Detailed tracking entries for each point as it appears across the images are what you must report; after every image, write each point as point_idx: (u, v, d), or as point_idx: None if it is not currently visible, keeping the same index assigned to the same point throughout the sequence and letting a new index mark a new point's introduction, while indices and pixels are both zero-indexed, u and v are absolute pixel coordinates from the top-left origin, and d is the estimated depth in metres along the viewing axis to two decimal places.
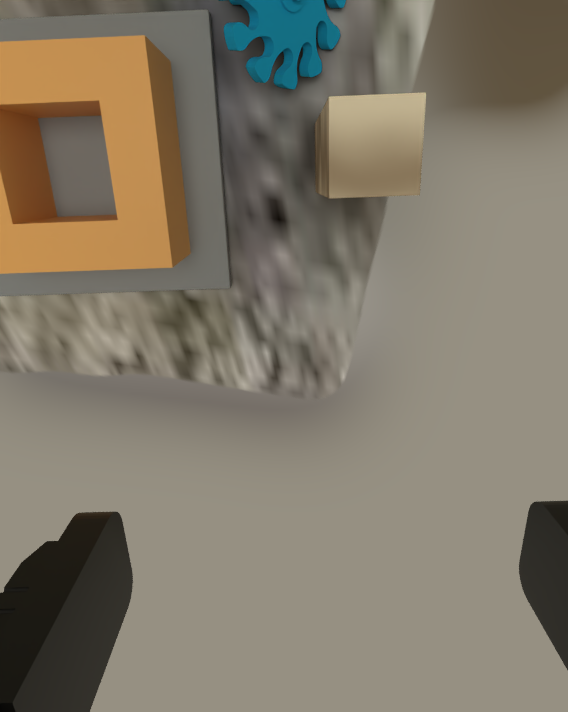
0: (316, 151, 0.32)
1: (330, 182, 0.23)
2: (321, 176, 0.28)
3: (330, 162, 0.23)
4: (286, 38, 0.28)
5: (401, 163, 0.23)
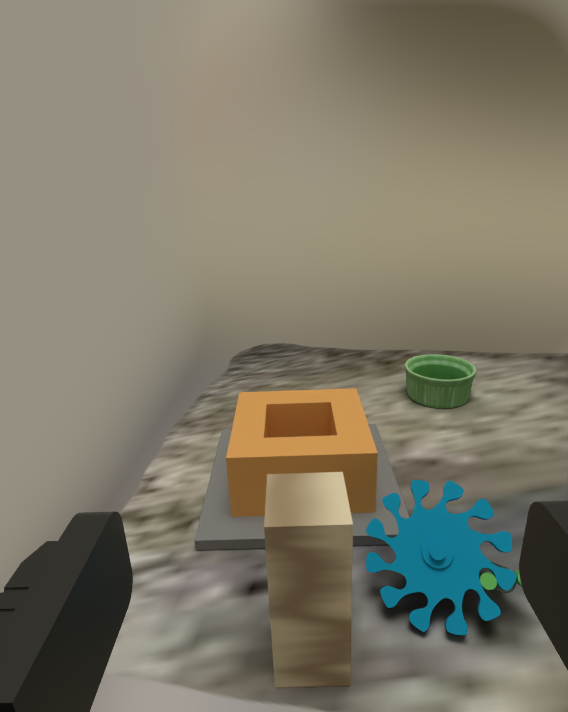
0: None
1: (279, 474, 0.28)
2: None
3: (295, 473, 0.28)
4: (402, 552, 0.33)
5: (293, 513, 0.25)
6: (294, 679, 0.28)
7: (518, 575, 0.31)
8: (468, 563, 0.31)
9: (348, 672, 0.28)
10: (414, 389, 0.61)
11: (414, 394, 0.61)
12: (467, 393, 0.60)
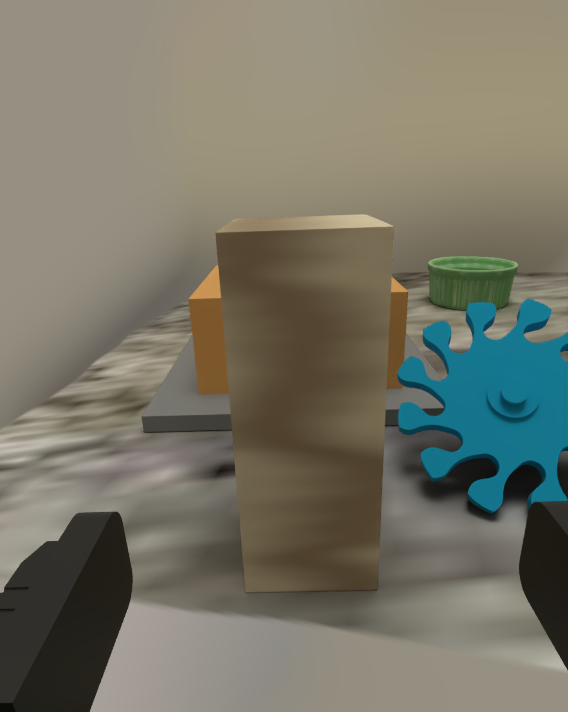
0: None
1: None
2: None
3: (282, 217, 0.16)
4: (456, 399, 0.21)
5: (275, 226, 0.13)
6: (279, 578, 0.16)
7: None
8: (564, 409, 0.20)
9: (375, 563, 0.16)
10: (440, 289, 0.49)
11: (440, 296, 0.49)
12: (507, 292, 0.48)
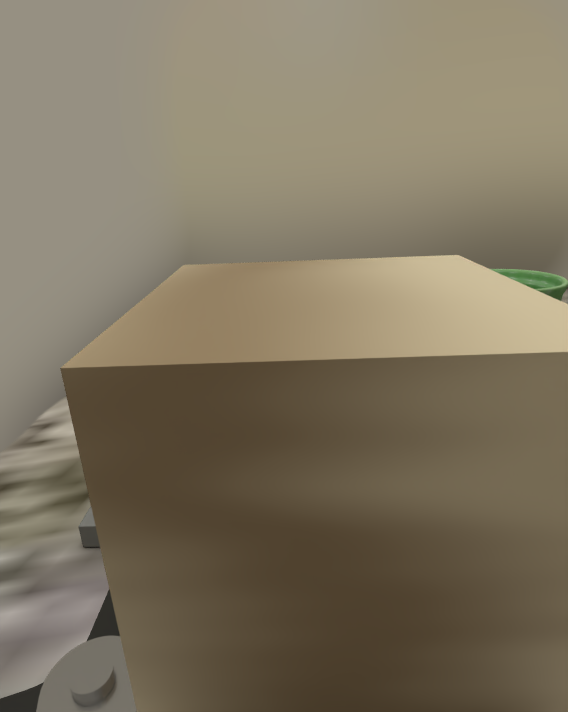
0: None
1: None
2: None
3: None
4: None
5: (263, 324, 0.04)
6: None
7: None
8: None
9: None
10: None
11: None
12: None
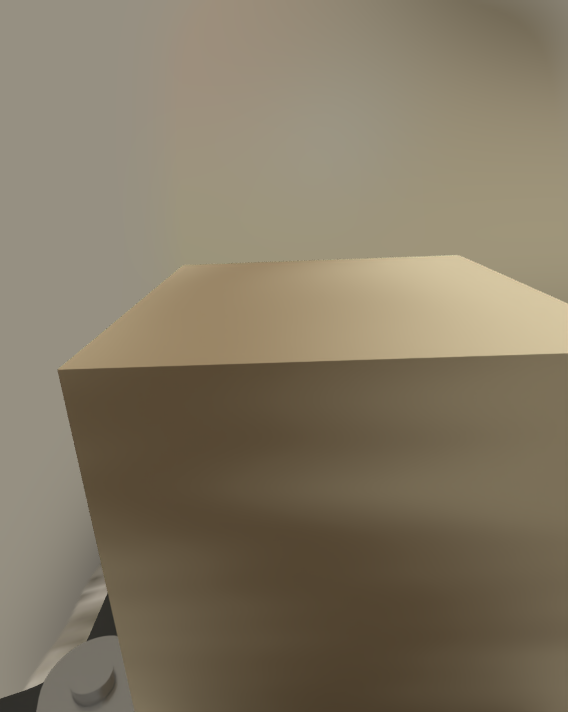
0: None
1: None
2: None
3: None
4: None
5: (263, 324, 0.04)
6: None
7: None
8: None
9: None
10: None
11: None
12: None
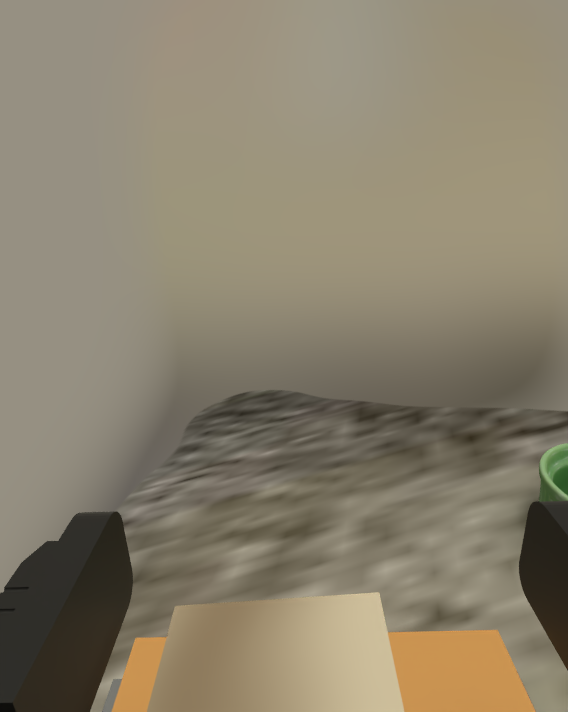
0: None
1: (207, 605, 0.10)
2: None
3: (248, 603, 0.10)
4: None
5: None
6: None
7: None
8: None
9: None
10: None
11: None
12: None
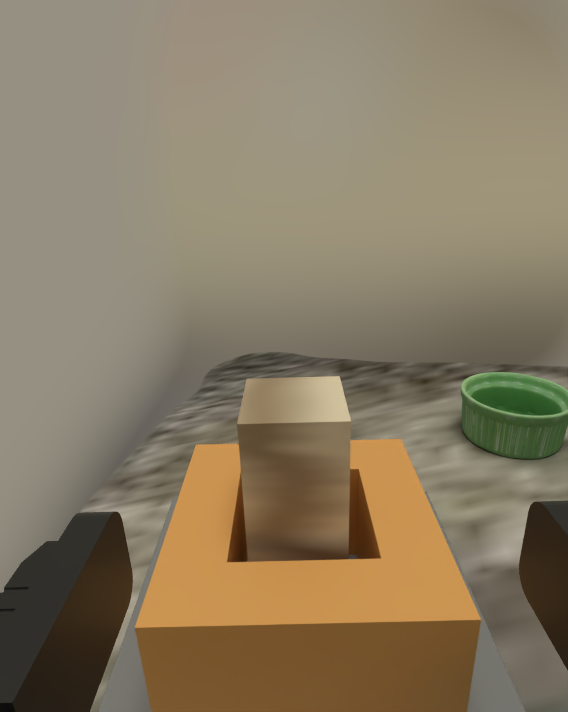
0: None
1: (262, 378, 0.23)
2: None
3: (280, 378, 0.23)
4: None
5: (275, 411, 0.19)
6: None
7: None
8: None
9: None
10: (478, 428, 0.39)
11: (478, 435, 0.40)
12: (563, 435, 0.38)
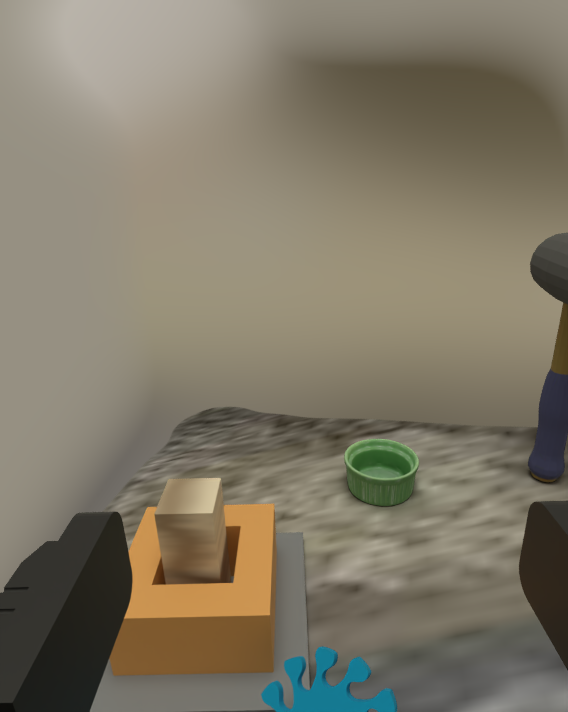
0: None
1: (177, 479, 0.40)
2: None
3: (187, 479, 0.40)
4: None
5: (176, 505, 0.37)
6: None
7: None
8: None
9: None
10: (352, 483, 0.57)
11: (353, 488, 0.57)
12: (409, 489, 0.56)
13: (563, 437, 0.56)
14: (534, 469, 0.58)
